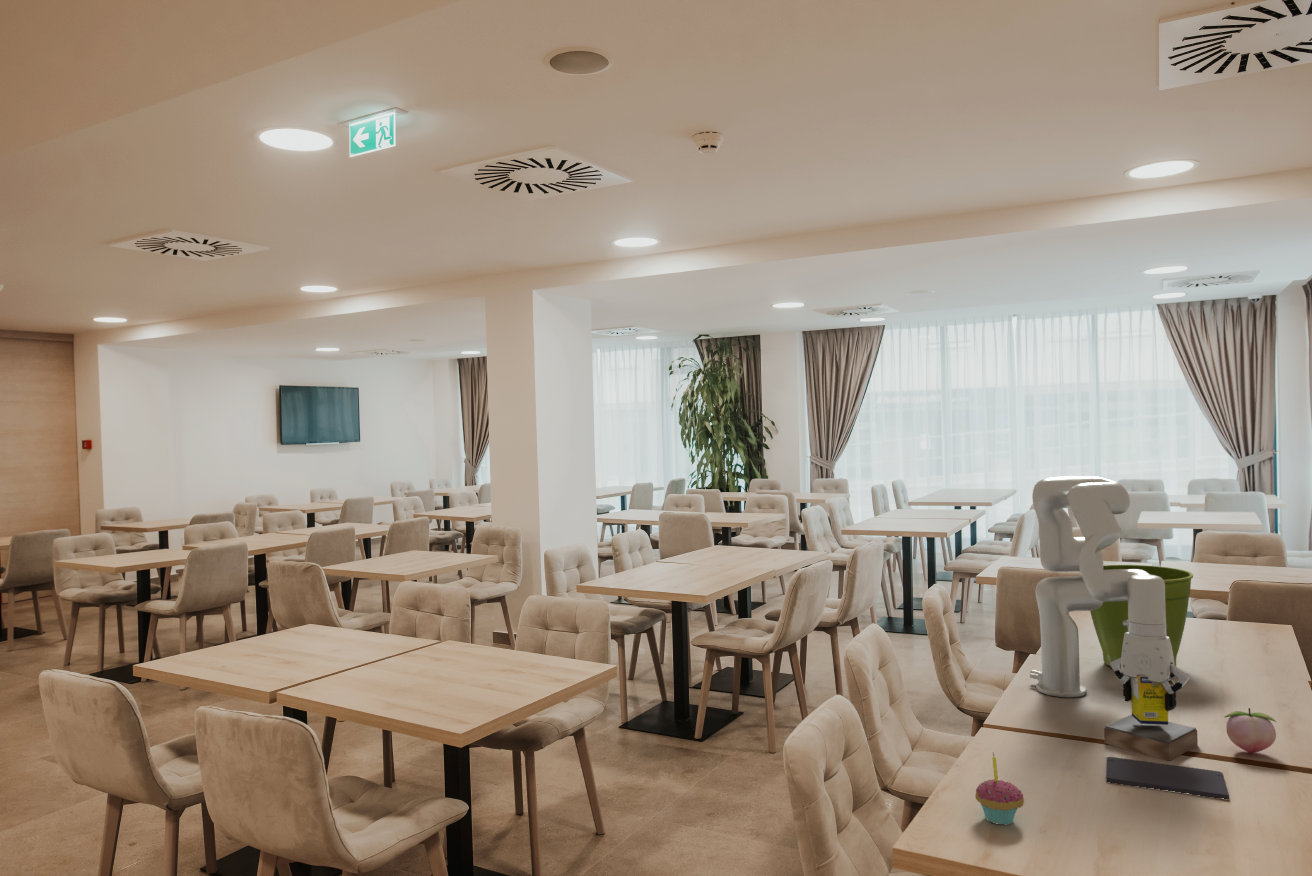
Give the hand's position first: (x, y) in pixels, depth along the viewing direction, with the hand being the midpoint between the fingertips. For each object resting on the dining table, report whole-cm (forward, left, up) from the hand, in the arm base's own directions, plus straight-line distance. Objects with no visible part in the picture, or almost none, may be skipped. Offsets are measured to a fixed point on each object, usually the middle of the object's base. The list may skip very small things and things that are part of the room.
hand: (1149, 704), depth 197 cm
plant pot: (-32, +63, -9) cm, 71 cm away
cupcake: (0, -60, -9) cm, 61 cm away
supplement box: (0, 0, -4) cm, 4 cm away
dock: (0, 0, -9) cm, 9 cm away
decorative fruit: (+16, +11, -9) cm, 22 cm away
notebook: (+11, -18, -10) cm, 23 cm away
